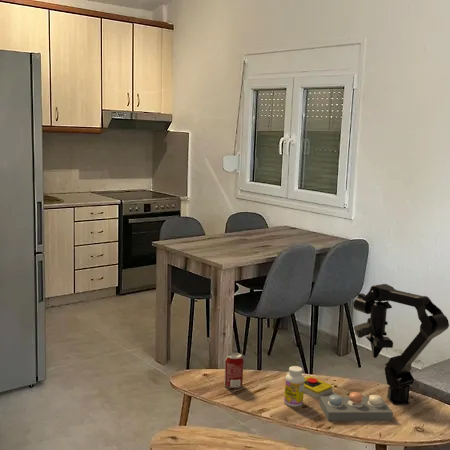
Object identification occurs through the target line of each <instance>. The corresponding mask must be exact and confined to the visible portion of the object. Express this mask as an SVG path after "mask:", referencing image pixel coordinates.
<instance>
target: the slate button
mask: <svg viewBox="0 0 450 450" xmlns="http://www.w3.org/2000/svg"><path fill="white" fill-rule="evenodd" d="M342 399H343V398H342V397H341V395H339V394H337V395H330V396H329V403H330V404H332V405H341V404H342Z"/></svg>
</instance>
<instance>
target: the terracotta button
mask: <svg viewBox="0 0 450 450" xmlns="http://www.w3.org/2000/svg"><path fill="white" fill-rule="evenodd" d="M348 396H349V400H350V401H352V402H356V403H360V402H362V399H363V396H364V395H363V394H362V393H360V392H358V391H352V392H350V393H349V395H348Z"/></svg>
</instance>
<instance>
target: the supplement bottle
mask: <svg viewBox="0 0 450 450" xmlns="http://www.w3.org/2000/svg"><path fill="white" fill-rule="evenodd" d="M304 378H305V376H304V375H303V368H302V367H301V366H298V365H292V366H289V368H288V373H287V374H286V376H285V382H284V383H285V384H284V395H283V396H284V397H283V402H284V403H285V405H287V406H289V407H295V408H298V407H300V406H302V405H303V403H304V395H305V393H304V381H305V379H304Z"/></svg>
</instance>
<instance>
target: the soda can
mask: <svg viewBox="0 0 450 450" xmlns="http://www.w3.org/2000/svg"><path fill="white" fill-rule="evenodd" d="M243 358H244V357H243V355H242V354H241V353H239V352H230V353H227V355H226V358H225V360H224V380H223V382H224V383H223V384H224V386H225V387H226V388H228V387H229V389H231V388H234V389H233V390H235V389H236V388H237V389H239V388H241V387H242V386H243V382H244V381H243V379H244V377H243V376H244V375H243V374H244V359H243ZM237 389H236V390H237Z"/></svg>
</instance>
